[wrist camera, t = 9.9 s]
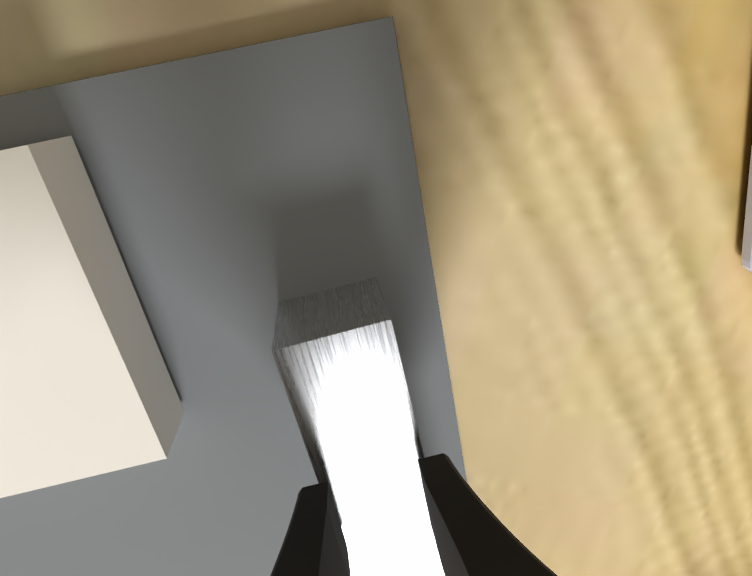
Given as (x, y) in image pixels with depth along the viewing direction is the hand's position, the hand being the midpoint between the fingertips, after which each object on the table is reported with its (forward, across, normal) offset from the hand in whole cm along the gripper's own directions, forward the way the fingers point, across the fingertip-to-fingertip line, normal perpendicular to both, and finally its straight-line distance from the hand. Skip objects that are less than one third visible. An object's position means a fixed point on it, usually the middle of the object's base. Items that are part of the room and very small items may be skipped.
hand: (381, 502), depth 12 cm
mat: (+3, +6, -2) cm, 7 cm away
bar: (+2, +1, +2) cm, 3 cm away
